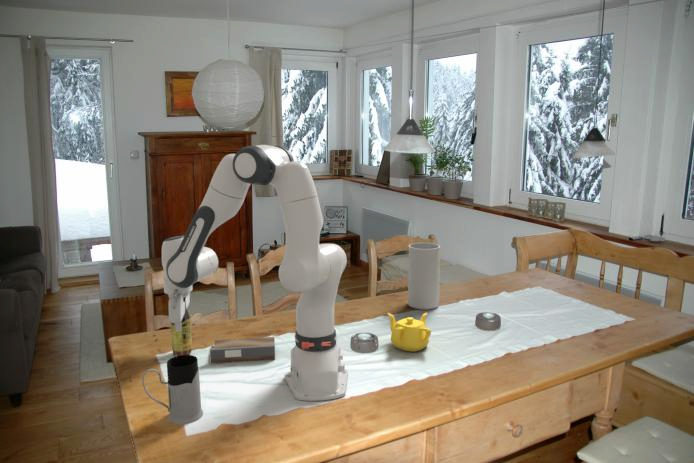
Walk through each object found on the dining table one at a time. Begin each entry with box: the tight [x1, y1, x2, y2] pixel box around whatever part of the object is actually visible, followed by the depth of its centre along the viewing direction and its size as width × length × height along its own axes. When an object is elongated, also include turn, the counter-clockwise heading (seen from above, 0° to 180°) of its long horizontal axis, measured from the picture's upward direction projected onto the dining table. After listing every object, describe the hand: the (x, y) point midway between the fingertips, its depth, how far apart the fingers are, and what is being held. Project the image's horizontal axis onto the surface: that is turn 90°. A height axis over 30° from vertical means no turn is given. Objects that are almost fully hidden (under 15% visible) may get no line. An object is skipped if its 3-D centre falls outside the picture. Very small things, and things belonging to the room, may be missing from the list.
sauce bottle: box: [170, 297, 193, 357], centre depth 183 cm, size 6×6×20 cm
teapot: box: [387, 312, 432, 353], centre depth 189 cm, size 14×13×10 cm
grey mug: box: [141, 354, 204, 425], centre depth 143 cm, size 9×14×15 cm, turn 107°
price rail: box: [209, 345, 276, 360], centre depth 178 cm, size 2×20×3 cm, turn 98°
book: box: [210, 336, 276, 365], centre depth 186 cm, size 16×20×2 cm
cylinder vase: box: [407, 242, 441, 311], centre depth 229 cm, size 12×12×25 cm
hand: (180, 326), depth 183 cm, fingers open, 6 cm apart
